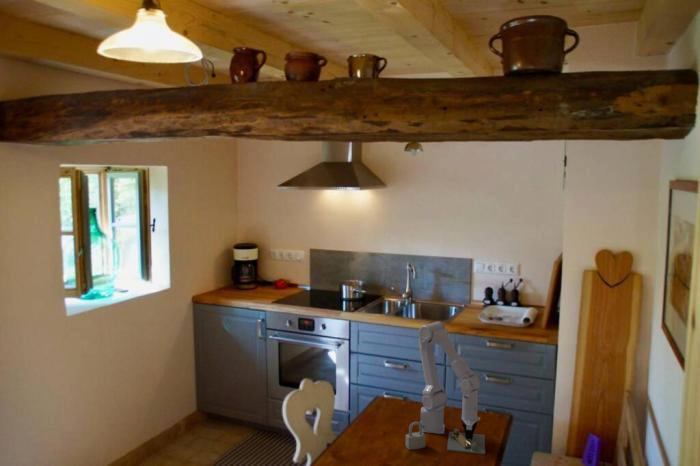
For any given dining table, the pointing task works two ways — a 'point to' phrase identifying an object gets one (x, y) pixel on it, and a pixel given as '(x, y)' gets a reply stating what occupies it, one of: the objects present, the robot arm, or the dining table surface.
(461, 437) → the brass link
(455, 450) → the slate board
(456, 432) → the pin cap
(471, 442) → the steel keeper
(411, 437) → the grey padlock
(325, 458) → the dining table surface
